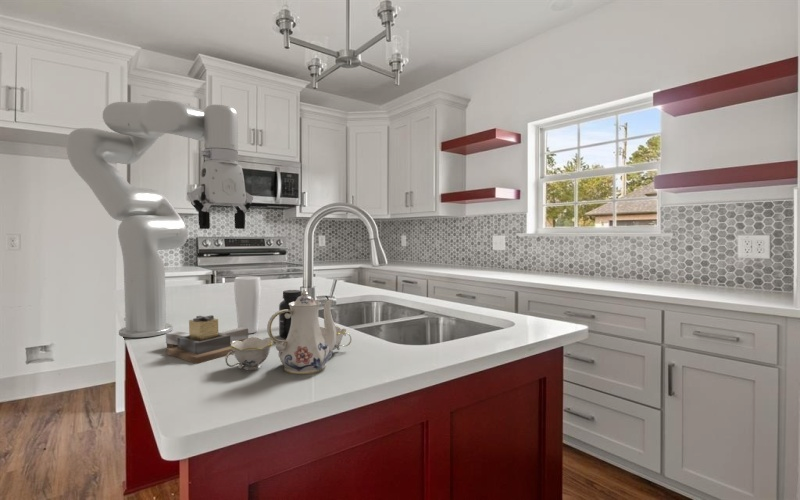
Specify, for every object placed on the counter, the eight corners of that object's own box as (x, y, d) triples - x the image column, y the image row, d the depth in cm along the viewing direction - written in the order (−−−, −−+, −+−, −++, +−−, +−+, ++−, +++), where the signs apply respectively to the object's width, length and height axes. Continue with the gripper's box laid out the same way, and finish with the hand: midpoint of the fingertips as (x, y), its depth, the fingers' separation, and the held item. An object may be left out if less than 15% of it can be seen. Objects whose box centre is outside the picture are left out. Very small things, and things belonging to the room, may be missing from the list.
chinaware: (332, 350, 108) (327, 283, 108) (375, 358, 96) (370, 283, 96) (218, 377, 89) (213, 295, 89) (255, 391, 77) (249, 297, 77)
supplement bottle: (273, 337, 114) (273, 292, 113) (288, 331, 120) (288, 288, 119) (296, 340, 111) (296, 293, 111) (310, 334, 118) (310, 289, 117)
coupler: (189, 348, 100) (189, 317, 99) (207, 343, 103) (207, 314, 103) (200, 351, 97) (200, 320, 97) (218, 346, 101) (218, 316, 100)
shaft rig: (154, 350, 102) (154, 334, 101) (218, 335, 115) (218, 321, 115) (197, 363, 92) (196, 346, 92) (260, 345, 106) (260, 330, 106)
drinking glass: (253, 335, 116) (252, 279, 115) (229, 334, 117) (229, 278, 116) (265, 329, 122) (265, 276, 121) (243, 328, 124) (243, 275, 123)
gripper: (197, 152, 97) (198, 229, 98) (260, 161, 112) (261, 228, 113) (178, 154, 101) (180, 228, 102) (242, 163, 116) (243, 228, 117)
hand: (222, 228), depth 107 cm, fingers open, 9 cm apart
